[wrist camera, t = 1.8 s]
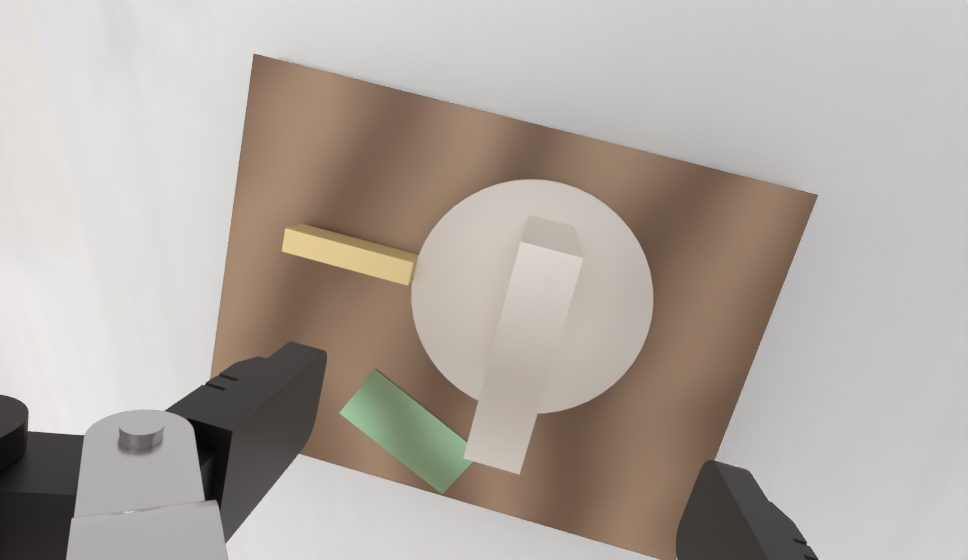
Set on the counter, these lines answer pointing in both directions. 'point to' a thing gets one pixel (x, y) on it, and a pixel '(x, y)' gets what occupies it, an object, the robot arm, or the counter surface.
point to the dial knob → (515, 302)
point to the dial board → (389, 317)
